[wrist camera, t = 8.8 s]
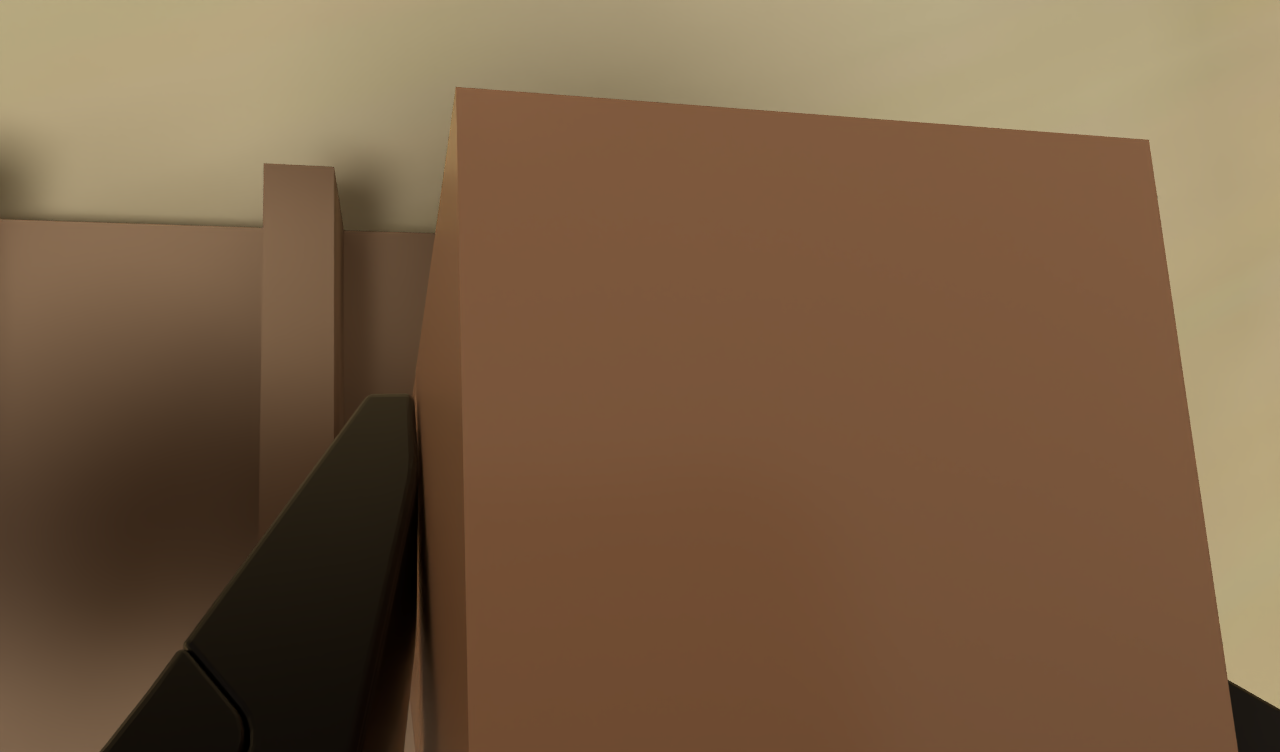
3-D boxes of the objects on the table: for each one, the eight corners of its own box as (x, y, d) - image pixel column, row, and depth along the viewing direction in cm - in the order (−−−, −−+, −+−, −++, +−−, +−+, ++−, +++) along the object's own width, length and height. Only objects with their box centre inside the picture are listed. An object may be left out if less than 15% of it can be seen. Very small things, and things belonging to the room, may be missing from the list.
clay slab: (592, 669, 15) (1298, 1158, 3) (408, 686, 14) (481, 1406, 3) (582, 433, 16) (1148, 139, 4) (406, 437, 15) (455, 87, 3)
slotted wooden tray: (745, 844, 18) (847, 932, 14) (-246, 1002, 14) (-510, 1193, 10) (705, 259, 20) (784, 189, 16) (-173, 235, 16) (-367, 131, 12)
